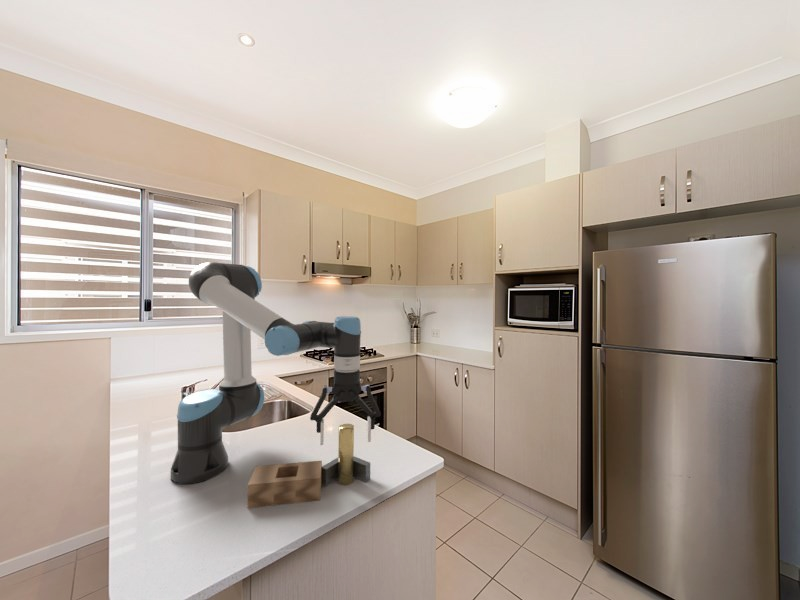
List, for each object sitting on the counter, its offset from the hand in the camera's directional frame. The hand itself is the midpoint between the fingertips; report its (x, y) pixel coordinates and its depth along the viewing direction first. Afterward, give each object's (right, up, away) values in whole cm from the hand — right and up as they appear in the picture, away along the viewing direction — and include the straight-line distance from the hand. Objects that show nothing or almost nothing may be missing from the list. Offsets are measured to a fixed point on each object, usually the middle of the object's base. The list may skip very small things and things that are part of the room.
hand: (345, 441), depth 94 cm
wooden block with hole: (-15, -12, -6) cm, 20 cm away
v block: (0, -12, +2) cm, 12 cm away
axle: (0, -12, 0) cm, 12 cm away
